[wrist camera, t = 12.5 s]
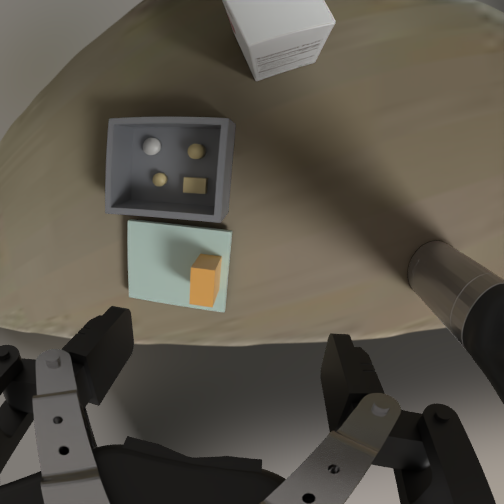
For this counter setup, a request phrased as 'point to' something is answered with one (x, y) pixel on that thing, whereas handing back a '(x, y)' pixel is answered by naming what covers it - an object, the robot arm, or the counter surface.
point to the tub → (169, 167)
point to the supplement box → (279, 32)
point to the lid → (178, 264)
